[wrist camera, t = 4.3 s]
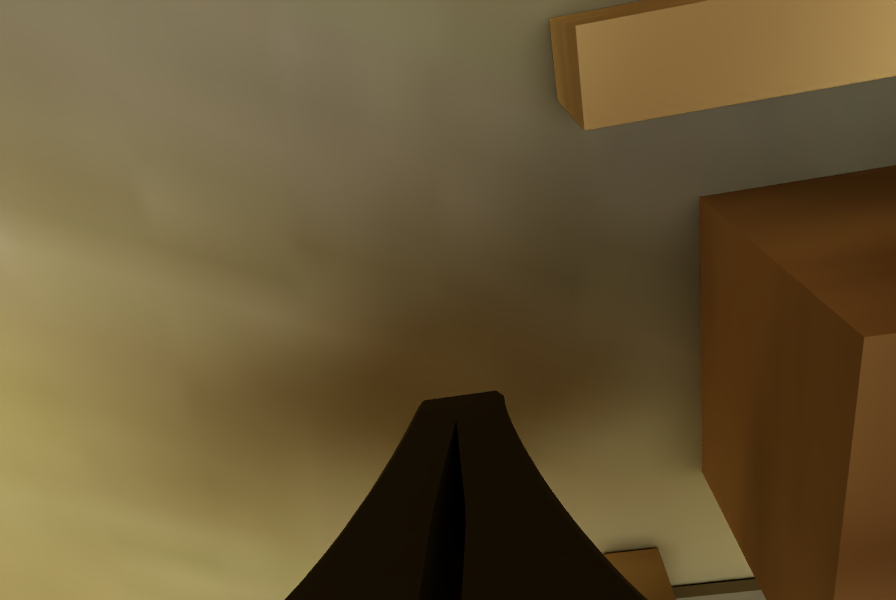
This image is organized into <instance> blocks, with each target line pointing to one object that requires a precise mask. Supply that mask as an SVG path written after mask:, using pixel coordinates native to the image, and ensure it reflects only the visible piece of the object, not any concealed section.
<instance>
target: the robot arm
mask: <svg viewBox="0 0 896 600" xmlns="http://www.w3.org/2000/svg"><path fill="white" fill-rule="evenodd" d="M285 600H648V599H646V598H645V597H644V596H643V595H642V594H641V593H640V592H639V591H638V590H637V589H636V588H635V587H634V586H633V585H632V584H631V583H630V582H629V581H628V580H627V579H626V578H625V577H624V576H623V575H622V574H621V573H620V572H619V571H618V570H617V569H616V568H615V567H614V566H613V565H612V564H611V562H610V561H609V560H608V559H607V558H606V557H605V556H604V555H603V554H602V553H601V552H600V551H599V549H598V548H597V547H596V546H595V545H594V544H593V542H592V541H591V540H590V539H589V538H588V537H587V535H586V534H585V533H584V532H583V531H582V530H581V528H580V527H579V526H578V525H577V523H576V522H575V521H574V520H573V518H572V517H571V516H570V515H569V513H568V512H567V511H566V509H565V508H564V507H563V505H562V504H561V503H560V501H559V500H558V498H557V497H556V496H555V494H554V493H553V492H552V490H551V489H550V487H549V486H548V484H547V483H546V481H545V480H544V478H543V477H542V476H541V474H540V472H539V471H538V469H537V468H536V466H535V464H534V463H533V461H532V459H531V458H530V456H529V454H528V453H527V451H526V449H525V448H524V446H523V444H522V442H521V440H520V439H519V437H518V435H517V432H516V430H515V428H514V426H513V424H512V422H511V420H510V417H509V415H508V412H507V409H506V405H505V400H504V396H503V395H502V394H500V393H499V392H497V391H490V392H483V393H475V394H468V395H461V396H454V397H446V398H439V399H432V400H424V401H423V402H422V404H421V405H420V406H419V408H418V410H417V411H416V413H415V415H414V417H413V419H412V421H411V423H410V425H409V427H408V429H407V431H406V432H405V434H404V436H403V438H402V440H401V441H400V443H399V445H398V447H397V448H396V450H395V452H394V454H393V455H392V457H391V459H390V460H389V462H388V464H387V465H386V467H385V468H384V470H383V472H382V473H381V475H380V477H379V478H378V480H377V481H376V483H375V485H374V486H373V488H372V489H371V491H370V492H369V494H368V495H367V497H366V498H365V500H364V501H363V502H362V504H361V505H360V507H359V508H358V510H357V511H356V512H355V514H354V515H353V517H352V518H351V520H350V521H349V522H348V524H347V525H346V527H345V528H344V529H343V531H342V532H341V533H340V535H339V536H338V537H337V539H336V540H335V541H334V543H333V544H332V545H331V546H330V548H329V549H328V550H327V551H326V553H325V554H324V555H323V556H322V558H321V559H320V560H319V561H318V562H317V564H316V565H315V566H314V567H313V568H312V570H311V571H310V572H309V573H308V574H307V576H306V577H305V578H304V579H303V580H302V581H301V582H300V584H299V585H298V586H297V587H296V588H295V589H294V590H293V591H292V592H291V593H290V594H289V596H288V597H287V598H286V599H285Z"/></svg>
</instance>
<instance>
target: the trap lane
mask: <svg viewBox="0 0 896 600" xmlns="http://www.w3.org/2000/svg"><path fill="white" fill-rule="evenodd" d="M549 23H550V32H551V42H552V52H553V62H554V71H555V81H556V91H557V100H558V101H559V103H560V104H561V105H562V106H563V107H564V108H565V109H566V110H567V111H568V113H569V114H570V115H571V116H572V117H573V118H574V119H575V120H576V122H577V123H578V124H579V125H580V126H581V127H582V128H583V129H584V130H590V129H596V128H601V127H607V126H613V125H619V124H624V123H630V122H636V121H641V120H647V119H653V118H658V117H664V116H670V115H676V114H681V113H687V112H693V111H698V110H704V109H710V108H715V107H721V106H727V105H733V104H738V103H744V102H750V101H755V100H761V99H767V98H772V97H778V96H784V95H790V94H795V93H801V92H807V91H812V90H818V89H824V88H829V87H835V86H841V85H847V84H852V83H858V82H864V81H869V80H875V79H881V78H886V77H892V76H896V0H644V1H638V2H633V3H628V4H623V5H618V6H613V7H607V8H602V9H597V10H592V11H587V12H582V13H576V14H571V15H566V16H561V17H556V18H551V19H549ZM604 556H605V557H606V558H607V559H608V560H609V561H610V562H611V564H612V565H613V566H614V567H615V568H616V569H617V570H618V571H619V572H620V573H621V574H622V575H623V576H624V577H625V578H626V579H627V580H628V581H629V582H630V583H631V584H632V585H633V586H634V587H635V588H636V589H637V590H638V591H639V592H640V593H641V594H642V595H643V596H644V597H645V598H646V599H648V600H766V598H765V596H764V594H763V592H762V590H761V588H760V586H759V584H758V582H757V580H756V579H749V580H739V581H730V582H720V583H711V584H701V585H692V586H682V587H671V584H670V581H669V578H668V575H667V572H666V570H665V567H664V564H663V561H662V558H661V555H660V553H659V550H658V548H656V549H647V550H638V551H628V552H619V553H610V554H604Z"/></svg>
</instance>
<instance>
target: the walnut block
mask: <svg viewBox="0 0 896 600" xmlns="http://www.w3.org/2000/svg"><path fill="white" fill-rule="evenodd" d="M700 285H701V398H702V472H703V474H704V476H705V478H706V480H707V482H708V484H709V486H710V488H711V490H712V492H713V494H714V496H715V498H716V500H717V502H718V504H719V506H720V508H721V510H722V512H723V514H724V516H725V518H726V520H727V522H728V524H729V526H730V528H731V530H732V532H733V534H734V536H735V538H736V540H737V542H738V544H739V546H740V548H741V550H742V552H743V554H744V556H745V558H746V560H747V562H748V564H749V566H750V568H751V570H752V572H753V574H754V576H755V578H756V580H757V582H758V584H759V586H760V588H761V590H762V592H763V594H764V596H765V598H766V600H896V165H894V166H888V167H882V168H876V169H870V170H863V171H857V172H851V173H845V174H839V175H833V176H826V177H820V178H814V179H808V180H802V181H795V182H789V183H783V184H777V185H771V186H764V187H758V188H752V189H746V190H740V191H733V192H727V193H721V194H715V195H709V196H702V197H700Z"/></svg>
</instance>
